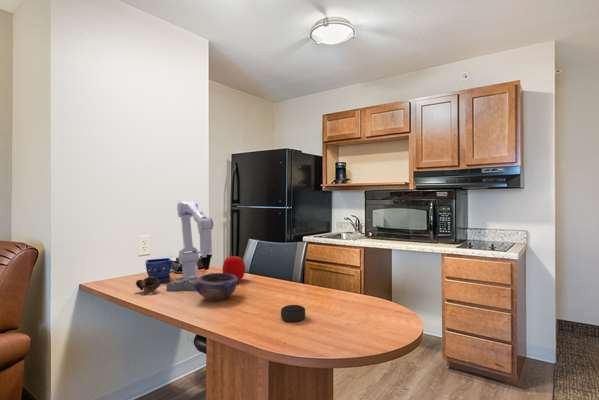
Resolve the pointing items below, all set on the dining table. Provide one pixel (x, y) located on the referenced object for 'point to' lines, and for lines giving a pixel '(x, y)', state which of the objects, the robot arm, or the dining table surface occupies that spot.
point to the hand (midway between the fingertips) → (206, 269)
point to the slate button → (192, 279)
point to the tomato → (234, 266)
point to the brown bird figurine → (148, 284)
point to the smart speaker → (293, 313)
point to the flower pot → (159, 269)
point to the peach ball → (179, 279)
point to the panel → (180, 286)
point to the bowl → (216, 285)
